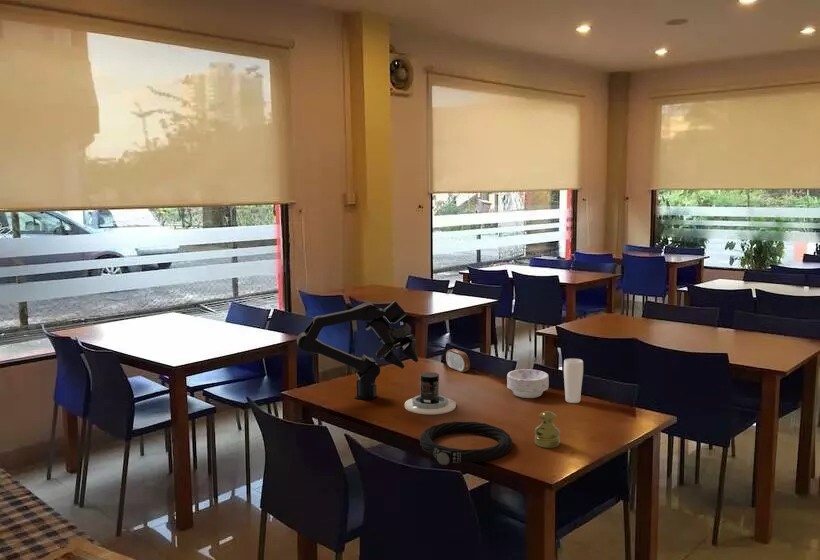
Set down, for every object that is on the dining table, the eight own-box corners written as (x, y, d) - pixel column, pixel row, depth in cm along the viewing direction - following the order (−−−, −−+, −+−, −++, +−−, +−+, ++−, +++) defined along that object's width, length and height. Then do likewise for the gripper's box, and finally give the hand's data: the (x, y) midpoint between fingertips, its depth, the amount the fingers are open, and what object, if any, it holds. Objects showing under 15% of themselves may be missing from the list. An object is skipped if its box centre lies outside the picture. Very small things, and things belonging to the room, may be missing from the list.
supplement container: (440, 401, 245) (440, 372, 244) (437, 407, 239) (437, 377, 237) (422, 400, 247) (421, 371, 245) (418, 405, 240) (418, 376, 239)
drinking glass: (562, 403, 245) (563, 362, 243) (563, 398, 251) (564, 357, 249) (581, 405, 243) (582, 363, 241) (582, 399, 249) (583, 359, 247)
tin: (470, 373, 287) (470, 353, 285) (464, 374, 285) (464, 354, 284) (450, 365, 299) (450, 346, 298) (444, 366, 298) (444, 347, 297)
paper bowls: (506, 399, 250) (506, 378, 249) (507, 388, 265) (507, 368, 264) (548, 401, 247) (549, 380, 246) (548, 389, 262) (548, 369, 261)
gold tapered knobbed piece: (530, 445, 205) (531, 412, 204) (540, 437, 211) (541, 406, 210) (554, 450, 201) (554, 417, 200) (563, 442, 207) (564, 410, 206)
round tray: (396, 410, 238) (396, 403, 238) (416, 396, 255) (416, 389, 254) (444, 417, 231) (444, 410, 231) (462, 402, 247) (462, 395, 247)
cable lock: (524, 427, 211) (489, 461, 184) (524, 439, 211) (489, 475, 185) (442, 414, 223) (398, 444, 197) (442, 426, 224) (398, 457, 197)
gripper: (382, 322, 240) (409, 357, 235) (411, 313, 255) (437, 345, 251) (364, 342, 245) (391, 376, 241) (393, 331, 261) (419, 363, 256)
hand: (410, 364), depth 247 cm, fingers open, 9 cm apart
